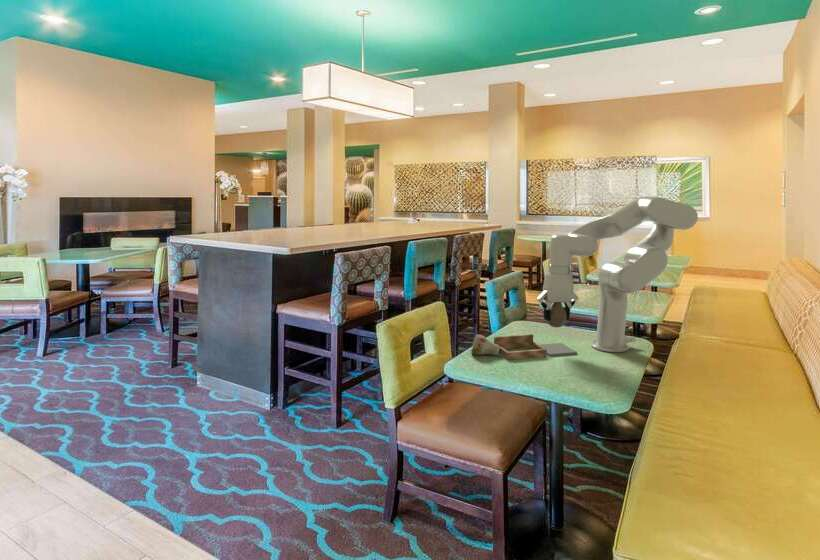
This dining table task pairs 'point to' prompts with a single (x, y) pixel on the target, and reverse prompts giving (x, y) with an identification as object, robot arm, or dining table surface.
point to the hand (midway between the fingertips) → (556, 319)
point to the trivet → (558, 349)
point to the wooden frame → (519, 347)
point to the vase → (557, 315)
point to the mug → (484, 346)
